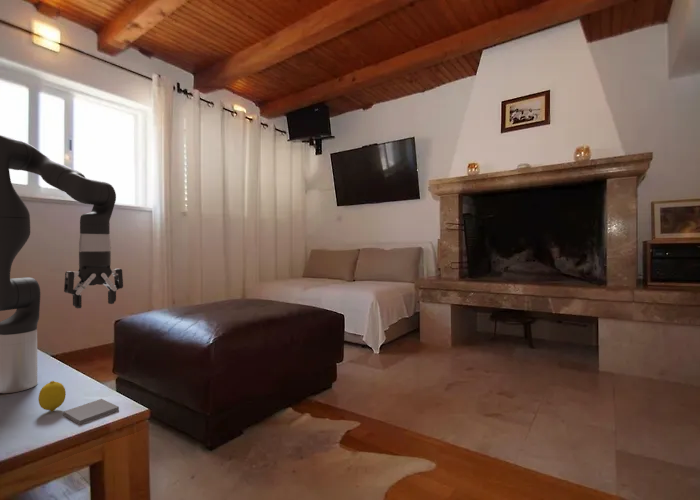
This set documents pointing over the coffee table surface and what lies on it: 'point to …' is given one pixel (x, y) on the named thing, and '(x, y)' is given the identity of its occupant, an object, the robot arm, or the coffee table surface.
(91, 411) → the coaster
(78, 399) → the coffee table surface
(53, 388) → the lemon
